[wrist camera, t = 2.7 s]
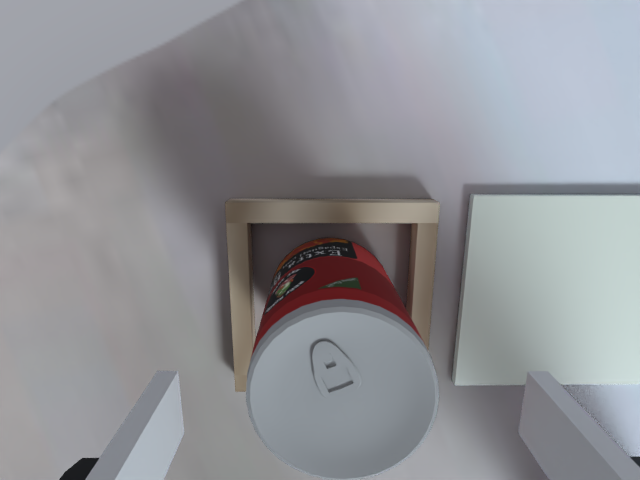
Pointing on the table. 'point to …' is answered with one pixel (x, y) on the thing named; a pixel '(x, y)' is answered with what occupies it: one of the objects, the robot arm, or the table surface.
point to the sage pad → (550, 290)
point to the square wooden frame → (325, 211)
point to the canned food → (339, 366)
